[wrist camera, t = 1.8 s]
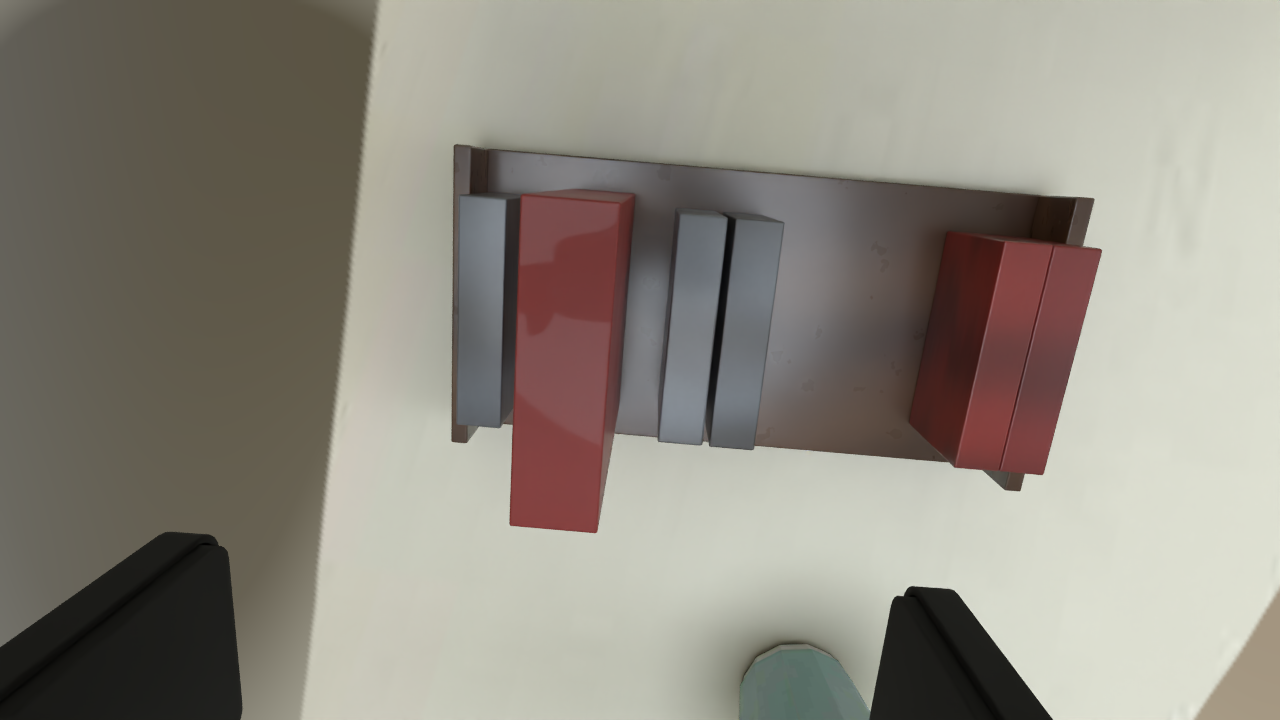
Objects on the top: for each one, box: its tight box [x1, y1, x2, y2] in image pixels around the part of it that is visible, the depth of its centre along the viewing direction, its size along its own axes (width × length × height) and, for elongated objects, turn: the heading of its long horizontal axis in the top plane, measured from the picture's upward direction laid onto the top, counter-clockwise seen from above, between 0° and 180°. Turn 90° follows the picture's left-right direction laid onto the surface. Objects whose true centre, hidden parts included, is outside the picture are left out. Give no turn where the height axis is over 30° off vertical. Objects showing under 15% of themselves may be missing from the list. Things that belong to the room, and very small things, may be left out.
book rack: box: [452, 144, 1102, 491], centre depth 31 cm, size 14×28×7 cm, turn 85°
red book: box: [510, 189, 635, 533], centre depth 27 cm, size 11×3×13 cm, turn 175°
